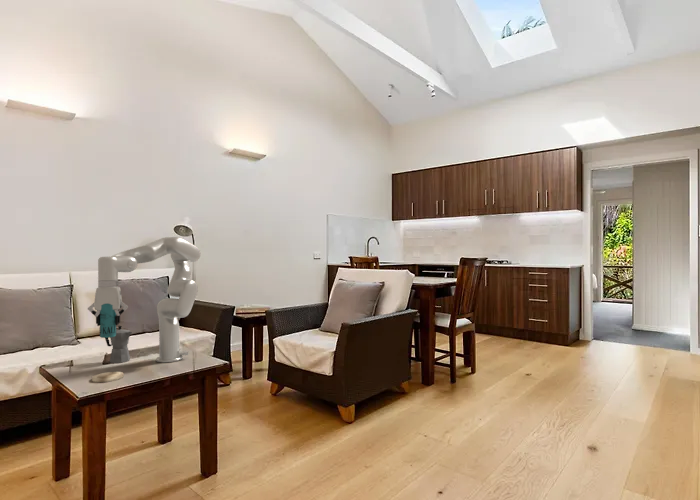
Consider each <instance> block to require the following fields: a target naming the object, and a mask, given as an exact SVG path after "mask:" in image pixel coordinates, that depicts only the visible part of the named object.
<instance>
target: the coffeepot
mask: <svg viewBox="0 0 700 500" xmlns="http://www.w3.org/2000/svg"><path fill="white" fill-rule="evenodd" d="M117 327H118V329H116V336H114V337H108V338H104V339H105V343H106V346H107V347H112V348H111V351H110V359H109V363H111V364H121V363H127V362H130V360H131V356H130V352H129V347H128V344H129V343H130V342H129V341H130V336H131V335H132V334H133V331H131V330H130V329H122V325H117ZM109 338H110V340H109Z"/></svg>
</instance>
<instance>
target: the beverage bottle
mask: <svg viewBox="0 0 700 500" xmlns="http://www.w3.org/2000/svg"><path fill="white" fill-rule="evenodd" d="M112 306H113V305H111V304H108V303H107V304H103V305H101V311H100V326H99V337H100V338H101V339H102V338H104V339H105V338H108V339H109V338H110V337H114V336H116V330H118V329H117V325H115V316H116V313H115V311H114V310H113V307H112Z"/></svg>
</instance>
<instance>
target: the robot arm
mask: <svg viewBox="0 0 700 500" xmlns="http://www.w3.org/2000/svg"><path fill="white" fill-rule="evenodd" d="M166 255H170V258H171V260H172V263H173V265H174V271H173V274H172V276H171V280H170V282H169V284H168V286H167V294H168V295H169V296H170V298H169V297H168V298H163V299H161V300H160V301H159V302H158V303H157V306H156V311H157V317H158V325H159V327H158V329H159V333H158V335H159V339H158V340H159V341H158V342H159V345H158V347H159V349H158V350H159V351H158V352H159V354H158V355H159V356H157V357H156V358H155V361H156V362H158V363H173V362H178V361H180V360H182V359H183V358H184V357H183V356H189V354H190V353H189V351H187V350H184V351H182V350H181V348H180V323H179V319H181V318H186V317H188V316H189V314H190V313H191V311H192V308H193V306H194V304H195V303H194V302H195V300H196V297H197V295H198V291H199V290H198V284H197V282H196V281H194V280H193V279H191V278H190V277H191V275H192V269H191V266H190V263H194V262H197V261H198V260H199V259H200V257H201V250H200V249H199V247H198V246H196V245H194V244H193V243H191V242H189V241H187V240H186V239H184V238H181V237H178V236H170V237H169V236H166V237H161V238H159V239H156V240H154V241H152V242H149V243H147V244H145V245H141V246H137V247H133V248H131V249H127V250H124V251H121V252H119V253H116V254H113V255H112V256H100V257H98V259H97V271H98V272H97V273H98V274H97V276H98V277H97V279H98V281H97V282H98V283H97V288H95V289H96V290H95V294H94V302H93V303H91V305H90V306H88V307H87V310H88V311H89V312H90V313H91V314H92V315H94V317H95V325H96V326H97V327H100V311H101V305H103V304H107V303H108V304H111V305H113V306H112V307H113V310H114V311H115V313H116V316H115V325H116V326H119V324H120V323H121V315H122V314H123V313H125V311H126V310H127V309H128V308H129V306H128V305H127V304H126V303H125V302H123V298H122V296H123V295H122V291H121V287H120V285H122V284H123V283H122V281H119V273H131V272H133V271H135V270H136V268H137V267H138V264H145V263H151V262H153V261H155V260H158V259H159V258H162V257H164V256H166ZM171 297H173V298H171ZM121 308H122V309H121ZM120 309H121V310H120ZM178 318H179V319H178Z"/></svg>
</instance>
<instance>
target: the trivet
mask: <svg viewBox="0 0 700 500" xmlns="http://www.w3.org/2000/svg"><path fill="white" fill-rule="evenodd" d="M124 376H125V375H124V372H122V371H108V372H101V373H98V374H95V375H93V376H92V377H91V381H92V382H93V383H97V384H98V383H109V382H115V381H118V380H121V379H123V378H124Z"/></svg>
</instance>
